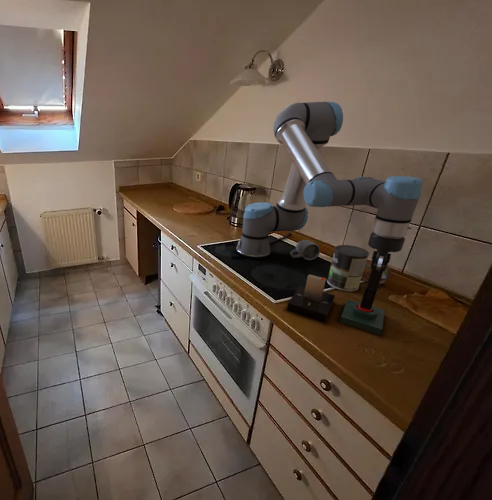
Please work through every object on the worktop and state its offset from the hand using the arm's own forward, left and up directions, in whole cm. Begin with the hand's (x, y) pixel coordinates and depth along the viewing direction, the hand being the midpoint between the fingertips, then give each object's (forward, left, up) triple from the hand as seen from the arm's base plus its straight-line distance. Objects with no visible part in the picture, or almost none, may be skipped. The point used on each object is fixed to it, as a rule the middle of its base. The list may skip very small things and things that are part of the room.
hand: (365, 307), depth 91 cm
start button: (0, 0, -2) cm, 2 cm away
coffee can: (-21, -8, -5) cm, 23 cm away
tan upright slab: (+2, -14, -1) cm, 14 cm away
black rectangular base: (+2, -14, -5) cm, 15 cm away
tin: (-31, -2, -5) cm, 32 cm away
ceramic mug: (-39, -26, -5) cm, 47 cm away
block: (0, 0, -5) cm, 5 cm away
